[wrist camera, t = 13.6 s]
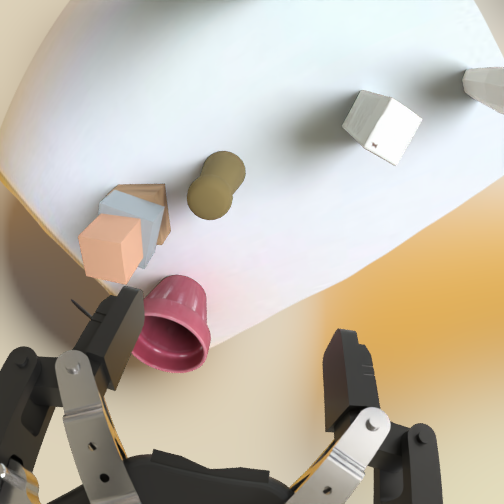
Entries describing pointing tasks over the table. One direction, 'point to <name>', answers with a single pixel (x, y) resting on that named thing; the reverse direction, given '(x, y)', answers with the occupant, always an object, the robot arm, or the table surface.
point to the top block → (140, 209)
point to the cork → (216, 185)
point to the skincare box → (381, 125)
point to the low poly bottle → (486, 86)
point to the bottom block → (151, 194)
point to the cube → (112, 247)
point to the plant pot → (174, 326)
